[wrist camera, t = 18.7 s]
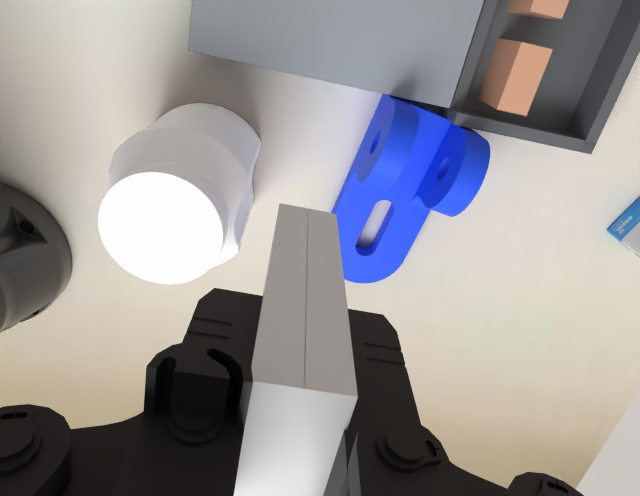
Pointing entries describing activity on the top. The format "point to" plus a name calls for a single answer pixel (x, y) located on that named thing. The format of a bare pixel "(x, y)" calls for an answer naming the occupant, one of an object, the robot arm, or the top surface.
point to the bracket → (405, 183)
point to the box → (554, 71)
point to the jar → (180, 194)
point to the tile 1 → (514, 76)
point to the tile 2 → (538, 8)
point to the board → (345, 41)
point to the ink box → (628, 228)
